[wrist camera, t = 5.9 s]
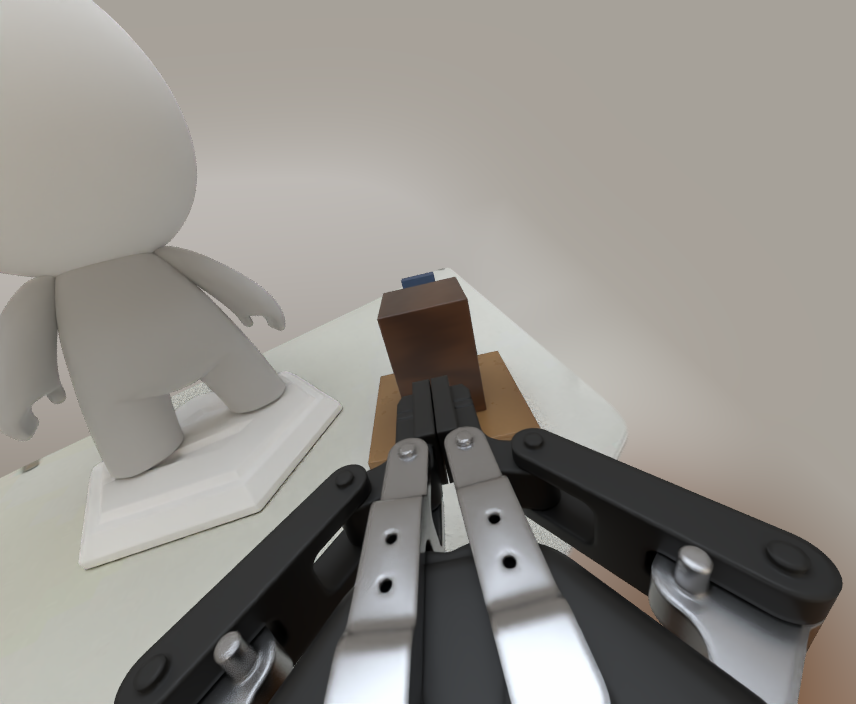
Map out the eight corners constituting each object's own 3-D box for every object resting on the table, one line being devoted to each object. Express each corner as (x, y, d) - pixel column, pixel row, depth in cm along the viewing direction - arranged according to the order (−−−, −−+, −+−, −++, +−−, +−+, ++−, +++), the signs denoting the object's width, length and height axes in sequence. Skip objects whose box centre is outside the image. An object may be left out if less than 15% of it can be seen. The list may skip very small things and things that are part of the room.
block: (499, 363, 34) (484, 260, 30) (542, 444, 23) (529, 301, 19) (384, 388, 35) (352, 291, 30) (374, 478, 24) (321, 348, 19)
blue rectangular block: (436, 287, 64) (432, 271, 63) (436, 289, 62) (433, 273, 61) (405, 294, 64) (401, 278, 63) (405, 297, 62) (401, 281, 61)
